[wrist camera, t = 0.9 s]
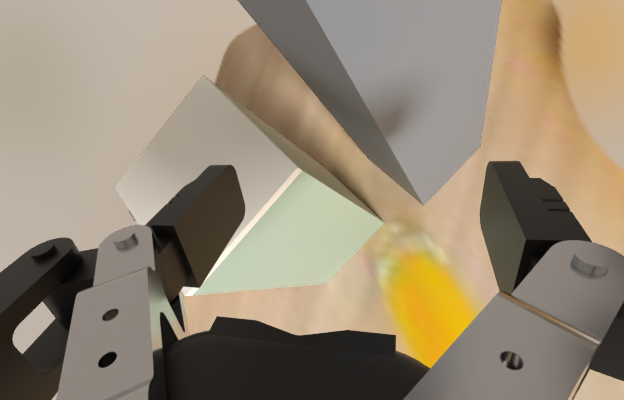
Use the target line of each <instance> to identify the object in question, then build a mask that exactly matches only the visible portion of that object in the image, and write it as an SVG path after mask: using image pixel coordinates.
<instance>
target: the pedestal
mask: <svg viewBox="0 0 624 400" xmlns="http://www.w3.org/2000/svg"><path fill="white" fill-rule="evenodd" d="M210 165H232V166H233V167H234V168H235V170H236V173H237V176H238V180H239V184H240V187H241V191H242V195H243V198H244V202H245V216H244V219H243V221H242V223H241V224H240V226H239V227H238V229H237V230H236V232H235V234H234V235H233V237H232V238H231V240H230V241H229V243H228V245H227V246H226V248H225V249H224V251H223V252H222V254H221V256H220V257H219V259H218V260H217V262H216V263H215V265H214V267H213V268H212V270H211V271H210V273H209V274H208V276H207V277H206V279H205V281H204V282H203V284H202V285H201V287H200V288H194V287H183V288H182V289H181V291H182V292H183V294H184V295H185V296H192V295H204V294H215V293H227V292H238V291H249V290H261V289H272V288H284V287H295V286H306V285H318V284H327V283H328V282H329V281H330V280H331V279H332V278H333V277H334V276H335V275H336V274H337V273H338V272H339V270H340V269H341V268H342V267H343V266H344V265H345V264H346V263H347V262H348V261H349V260H350V259H351V258H352V257H353V256H354V255H355V254H356V252H357V251H358V250H359V249H360V248H361V247H362V246H363V245H364V244H365V243H366V242H367V241H368V240H369V239H370V238H371V237H372V236H373V234H374V233H375V232H376V231H377V230H378V229H379V228H380V227H381V226H382V225H383V224H384V222H383V221H382V220H381V219H380V218H379V217H378V216H377V215H376V214H375V213H373V212H372V211H371V210H370V209H369V208H368V207H367V206H366V205H365V204H364V203H363V202H362V201H361V200H359V199H358V198H357V197H356V196H355V195H354V194H353V193H352V192H351V191H350V190H349V189H348V188H347V187H346V186H344V185H343V184H342V183H341V182H340V181H339V180H338V179H337V178H336V177H335V176H334V175H333V174H332V173H330V172H329V171H328V170H327V169H326V168H324V167H323V166H322V165H321V164H319V163H318V162H317V161H315V160H314V159H313V158H311V157H310V156H309V155H307V154H306V153H305V152H303V151H302V150H301V149H300V148H298V147H297V146H296V145H294V144H293V143H292V142H290V141H289V140H288V139H286V138H285V137H284V136H282V135H281V134H280V133H279V132H277V131H276V130H275V129H273V128H272V127H271V126H269V125H268V124H267V123H265V122H264V121H263V120H261V119H260V118H259V117H257V116H256V115H255V114H254V113H252V112H251V111H250V110H248V109H247V108H246V107H244V106H243V105H242V104H240V103H239V102H238V101H236V100H235V99H234V98H233V97H231V96H230V95H229V94H227V93H226V92H225V91H223V90H222V89H221V88H219V87H218V86H217V85H215V84H214V83H213V82H211V81H210V80H209V79H208V78H206V77H205V76H204V75H203V76H202V77H201V79H200V80H199V81H198V83H197V84H196V85H195V86H194V88H193V89H192V90H191V91H190V93H189V94H188V95H187V97H186V98H185V99H184V100H183V102H182V103H181V104H180V105H179V107H178V108H177V109H176V110H175V112H174V113H173V114H172V115H171V117H170V118H169V119H168V121H167V122H166V123H165V124H164V126H163V127H162V128H161V129H160V131H159V132H158V133H157V134H156V136H155V137H154V138H153V140H152V141H151V142H150V144H149V145H148V146H147V147H146V149H145V150H144V151H143V152H142V153H141V155H140V156H139V157H138V158H137V160H136V161H135V162H134V163H133V165H132V166H131V167H130V169H129V170H128V171H127V172H126V174H125V175H124V176H123V177H122V179H121V180H120V181H119V182H118V184H117V185H116V186H115V189H116V190H117V192H118V193H119V195H120V196H121V198H122V200H123V201H124V203H125V204H126V206H127V207H128V209H129V210H130V212H131V213H132V215H133V217H134V218H135V220H136V221H137V223H138V224H139V225H146V224H147V223H148V222H149V221H150V220H151V219H152V218H153V217H154V216H155V215H156V214H157V213H158V212H159V211H160V210H161V209H162V208H163V207H164V206H165V205H166V204H168V202H169V201H170V200H171V199H172V198H173V197H175V195H176V194H177V193H178V192H179V191H180V190H181V189H182V188H183V187H184V186H185V185H187V184H189V183H191V182H192V181H194V180H195V179H196V178H197V177H198V176H199V175H200V174H201V173H202V172H203V171H204V170H205V169H206V168H207V167H208V166H210Z"/></svg>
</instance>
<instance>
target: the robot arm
mask: <svg viewBox="0 0 624 400" xmlns="http://www.w3.org/2000/svg"><path fill="white" fill-rule="evenodd" d="M244 216H245V202H244V198H243V195H242V191H241V187H240V184H239V180H238V176H237V173H236V170H235V168H234V167H233V166H232V165H210V166H208V167H207V168H206V169H205V170H204V171H203V172H202V173H201V174H200V175H199V176H198V177H197V178H196V179H195V180H194V181H192V182H191V183H189V184H187V185H185V186H184V187H183V188H182V189H181V190H180V191H179V192H178V193H177V194H176V195H175V197H173V198H172V199H171V200H170V201H169V202H168V204H166V205H165V206H164V207H163V208H162V209H161V210H160V211H159V212H158V213H157V214H156V215H155V216H154V217H153V218H152V219H151V220H150V221H149V222H148V223H147V224H146V225H135V226H129V227H126V228H123V229H121V230H118V231H116V232H115V233H113V234H111V235H109V236H108V237H107V238H105V240H103V241H102V243H101V244H100V246H99V248H97V249H91V250H86V251H81V252H79V250H78V249H77V247H76V246H75V244H74V243H73V241H72V240H71V239H69V238H57V239H53V240H49V241H46V242H44V243H41V244H39V245H37V246H35V247H33V248H32V249H30V250H28V251H27V252H26V253H24V254H23V255H22V256H21V257H19V258H18V259H17V260H16V261H14V262H13V263H12V264H11V265H9V266H8V267H7V268H6V269H4V270H3V271H2V272H1V273H0V400H52V398H53V397H54V396H55V394H56V393H57V392H58V394H57V399H56V400H574V398H575V396H576V395H577V393H578V391H579V389H580V387H581V385H582V384H583V382H584V380H585V378H586V376H587V374H588V373H589V371H590V369H591V370H594V371H597V372H600V373H602V374H605V375H608V376H611V377H614V378H616V379H619V380H622V381H624V256H623V255H621V254H619V253H618V252H616V251H614V250H612V249H610V248H608V247H605V246H603V245H600V244H596V243H592V241H591V240H590V238H589V237H588V235H587V234H586V232H585V231H584V229H583V228H582V226H581V225H580V223H579V222H578V221H577V219H576V218H575V216H574V215H573V213H572V212H570V209H569V207H568V206H567V204H566V203H565V202H563V198H562V197H561V196H560V194H559V193H558V191H557V190H556V188H555V187H553V186H552V185H550V184H548V183H547V182H545V181H544V180H542V179H541V178H529V176H528V175H527V173H526V171H525V170H524V168H523V166H522V165H521V163H520V162H519V161H490V162H489V163H488V165H487V169H486V175H485V181H484V188H483V194H482V201H481V207H480V224H481V229H482V232H483V236H484V239H485V243H486V246H487V249H488V253H489V256H490V260H491V263H492V266H493V270H494V273H495V277H496V280H497V284H498V287H499V290H500V292H499V293H498V294H497V295H496V296H495V297H494V298H493V299H492V300H491V301H490V302H489V303H488V304H487V306H486V307H485V308H484V309H483V310H482V311H481V312H480V313H479V315H478V316H477V317H476V318H475V319H474V320H473V321H472V322H471V324H470V325H469V326H468V327H467V328H466V329H465V330H464V332H463V333H462V334H461V335H460V336H459V337H458V338H457V339H456V341H455V342H454V343H453V344H452V345H451V346H450V347H449V348H448V350H447V351H446V352H445V353H444V354H443V355H442V356H441V357H440V359H439V360H438V361H437V362H436V363H435V364H434V365H433V366H432V368H431V369H430V368H429V367H427V366H426V365H424V364H422V363H421V362H419V361H418V360H416V359H414V358H412V357H410V356H408V355H406V354H403V353H401V352H398V351H396V335H388V334H379V333H369V332H360V331H350V330H344V331H336V332H328V333H319V334H311V335H302V336H298V335H293V334H291V333H288V332H285V331H283V330H280V329H277V328H275V327H272V326H270V325H267V324H264V323H262V322H259V321H256V320H246V319H237V318H227V317H218V316H217V318H216V319H215V321H214V323H213V325H212V327H211V329H210V331H204V332H200V333H196V334H193V335H190V334H189V328H188V323H187V317H186V312H185V306H184V301H183V297H182V295H181V293H180V291H181V289H182V288H183V287H194V288H200V287H201V285H202V284H203V282H204V281H205V279H206V277H207V276H208V274H209V273H210V271H211V270H212V268H213V267H214V265H215V263H216V262H217V260H218V259H219V257H220V256H221V254H222V252H223V251H224V249H225V248H226V246H227V245H228V243H229V241H230V240H231V238H232V237H233V235H234V234H235V232H236V230H237V229H238V227H239V226H240V224H241V223H242V221H243V219H244ZM42 301H43V302H44V304H45V305H46V306H47V307H48V309H49V310H50V311H51V313H52V314H53V315H54V316H55V318H56V319H55V320H54V321H53V322H52V323H51V324H50V325H49V326H48V328H47V329H46V330H45V331H44V332H43V333H42V334H41V335H40V336H39V337H38V338H37V339H36V340H35V341H34V343H33V344H32V345H31V346H30V347H29V348H28V349H27V350H26V351H25V352H24V353H23V354H21V353H20V352H19V351H18V350H17V349H16V348H15V346H14V345H13V341H12V337H13V333H14V331H15V329H16V327H17V326H18V325H19V323H20V322H22V320H24V318H26V316H28V315H29V314H30V313H31V312H32V311H33V309H35V308H36V307H37V306H38V305H39V304H40V303H41V302H42Z"/></svg>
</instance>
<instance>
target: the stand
mask: <svg viewBox="0 0 624 400" xmlns="http://www.w3.org/2000/svg"><path fill="white" fill-rule="evenodd" d="M238 1H239V2H240V4H241V5H242V6H243V7H244V9H245V10H246V11H247V12H248V13H249V15H250V16H251V17H252V18H253V19H254V21H255V22H256V23H257V24H258V25H259V27H260V28H261V29H262V30H263V32H264V33H265V34H266V35H267V36H268V38H269V39H270V40H271V41H272V42H273V44H274V45H275V46H276V47H277V49H278V50H279V51H280V52H281V53H282V55H283V56H284V57H285V58H286V59H287V61H288V62H289V63H290V64H291V66H292V67H293V68H294V69H295V70H296V72H297V73H298V74H299V75H300V76H301V78H302V79H303V80H304V81H305V83H306V84H307V85H308V86H309V87H310V89H311V90H312V91H313V92H314V93H315V95H316V96H317V97H318V98H319V99H320V101H321V102H322V103H323V104H324V106H325V107H326V108H327V109H328V110H329V112H330V113H331V114H332V115H333V116H334V118H335V119H336V120H337V121H338V123H339V124H340V125H341V126H342V127H343V129H344V130H345V131H346V132H347V133H348V135H349V136H350V137H351V138H352V140H353V141H354V142H355V143H356V144H357V146H358V147H359V148H360V149H361V150H362V152H363V153H364V154H365V155H366V157H367V158H368V159H369V160H370V161H372V162H373V163H374V164H375V165H376V166H377V167H379V168H380V169H381V170H382V171H383V172H385V173H386V174H387V175H388V176H389V177H390V178H392V179H393V180H394V181H395V182H396V183H398V184H399V185H400V186H401V187H402V188H403V189H405V190H406V191H407V192H408V193H409V194H410V195H412V196H413V197H414V198H415V199H416V200H418V201H419V202H420V203H421V204H422V205H423V206H424V205H425V204H426V203H427V202H428V201H429V199H430V198H431V197H432V196H433V195H434V194H435V193H436V192H437V191H438V190H439V189H440V188H441V187H442V186H443V185H444V184H445V183H446V182H447V181H448V180H449V179H450V178H451V176H452V175H453V174H454V173H455V172H456V171H457V170H458V169H459V168H460V167H461V166H462V165H463V164H464V163H465V162H466V161H467V160H468V159H469V158H470V157H471V156H472V155H473V153H474V152H475V151H476V150H477V149H478V148H479V147H480V145H481V138H482V131H483V124H484V118H485V111H486V104H487V97H488V91H489V84H490V77H491V71H492V64H493V57H494V50H495V44H496V37H497V30H498V23H499V17H500V10H501V3H502V0H238Z"/></svg>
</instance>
